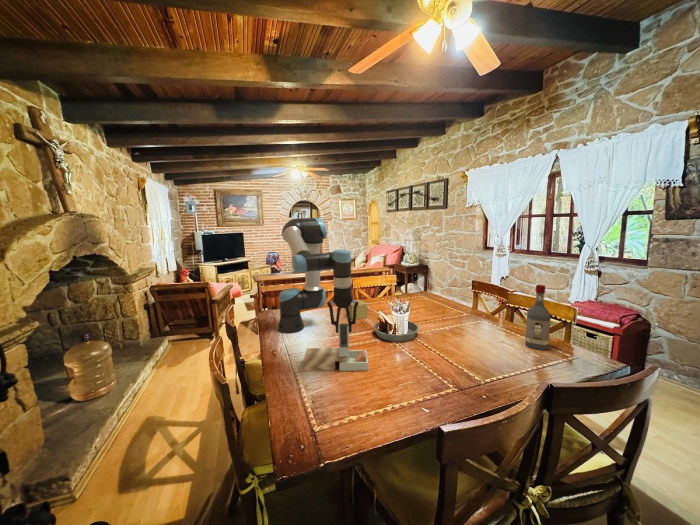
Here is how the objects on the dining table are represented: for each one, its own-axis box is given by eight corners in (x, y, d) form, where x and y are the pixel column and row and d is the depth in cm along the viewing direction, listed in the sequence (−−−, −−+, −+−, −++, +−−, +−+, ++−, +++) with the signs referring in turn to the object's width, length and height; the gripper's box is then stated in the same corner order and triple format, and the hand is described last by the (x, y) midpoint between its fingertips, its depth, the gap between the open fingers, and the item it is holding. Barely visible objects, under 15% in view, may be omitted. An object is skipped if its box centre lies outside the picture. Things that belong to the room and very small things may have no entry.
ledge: (304, 371, 122) (303, 358, 121) (307, 359, 132) (306, 348, 131) (349, 369, 122) (348, 357, 121) (349, 358, 132) (348, 347, 131)
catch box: (339, 371, 121) (339, 363, 120) (340, 357, 133) (340, 350, 132) (368, 370, 121) (368, 362, 121) (366, 357, 133) (366, 350, 132)
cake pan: (403, 323, 176) (403, 316, 175) (427, 338, 153) (428, 330, 152) (366, 330, 167) (366, 322, 166) (386, 346, 144) (386, 338, 144)
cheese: (347, 315, 193) (347, 301, 191) (362, 313, 196) (362, 299, 194) (352, 320, 183) (351, 305, 181) (368, 318, 186) (367, 303, 185)
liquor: (525, 340, 147) (529, 282, 143) (547, 344, 142) (551, 284, 138) (525, 347, 139) (529, 286, 135) (548, 351, 134) (553, 288, 130)
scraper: (339, 356, 121) (338, 329, 119) (339, 346, 131) (339, 320, 129) (348, 356, 121) (348, 328, 119) (348, 346, 131) (348, 320, 129)
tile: (363, 355, 124) (366, 358, 124) (362, 350, 128) (365, 353, 129) (354, 362, 124) (358, 366, 124) (354, 357, 129) (357, 360, 129)
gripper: (322, 289, 118) (324, 343, 122) (362, 288, 118) (362, 342, 122) (324, 285, 126) (325, 336, 129) (361, 284, 126) (362, 335, 129)
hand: (343, 339), depth 125 cm, fingers closed on scraper, 3 cm apart
